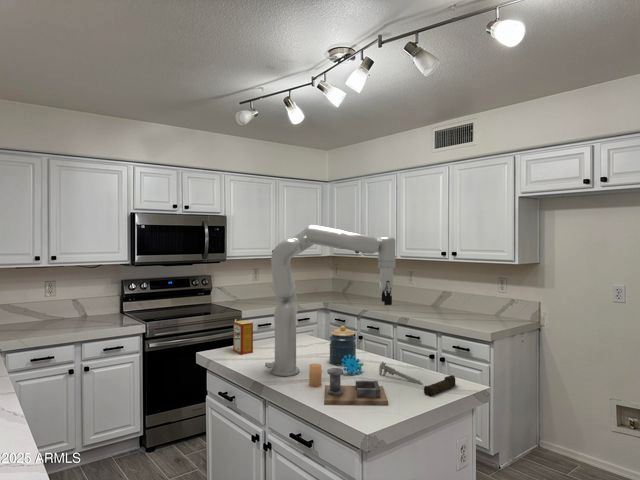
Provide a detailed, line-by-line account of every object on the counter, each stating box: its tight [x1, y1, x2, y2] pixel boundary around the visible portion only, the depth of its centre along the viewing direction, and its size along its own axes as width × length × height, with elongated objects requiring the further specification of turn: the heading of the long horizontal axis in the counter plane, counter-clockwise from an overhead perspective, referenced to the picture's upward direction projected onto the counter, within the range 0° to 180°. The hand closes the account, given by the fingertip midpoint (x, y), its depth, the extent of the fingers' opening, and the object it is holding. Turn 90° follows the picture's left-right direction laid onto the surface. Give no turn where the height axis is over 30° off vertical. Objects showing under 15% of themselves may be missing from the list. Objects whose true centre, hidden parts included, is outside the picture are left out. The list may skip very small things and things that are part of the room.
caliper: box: [378, 361, 424, 385], centre depth 187 cm, size 20×1×6 cm, turn 52°
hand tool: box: [423, 374, 456, 397], centre depth 174 cm, size 19×4×5 cm, turn 128°
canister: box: [328, 325, 357, 366], centre depth 213 cm, size 13×13×18 cm
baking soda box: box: [232, 319, 254, 356], centre depth 231 cm, size 10×6×16 cm
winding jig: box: [323, 367, 389, 406], centre depth 167 cm, size 23×16×10 cm
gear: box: [340, 355, 365, 376], centre depth 197 cm, size 11×6×10 cm
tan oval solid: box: [308, 363, 323, 388], centre depth 180 cm, size 5×5×8 cm
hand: (386, 303), depth 195 cm, fingers open, 9 cm apart
